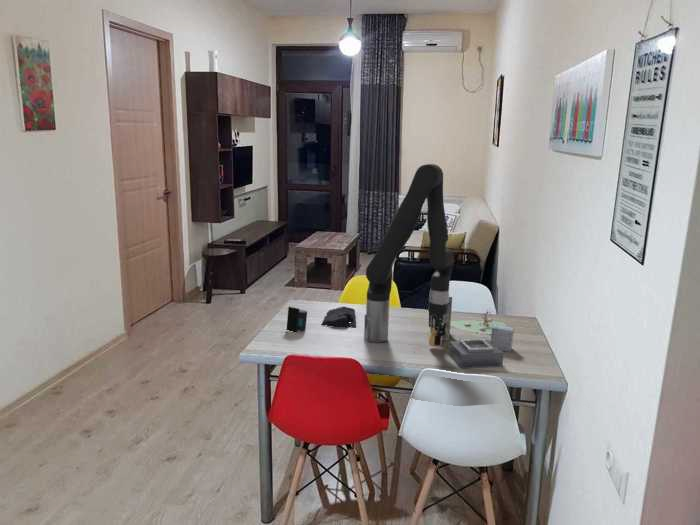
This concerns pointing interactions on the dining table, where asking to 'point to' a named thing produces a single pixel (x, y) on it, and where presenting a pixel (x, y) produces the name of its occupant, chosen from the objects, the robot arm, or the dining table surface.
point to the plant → (477, 325)
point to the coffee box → (447, 320)
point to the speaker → (296, 319)
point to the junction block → (475, 353)
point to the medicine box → (502, 337)
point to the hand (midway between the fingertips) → (435, 341)
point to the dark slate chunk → (340, 317)
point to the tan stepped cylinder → (433, 338)
